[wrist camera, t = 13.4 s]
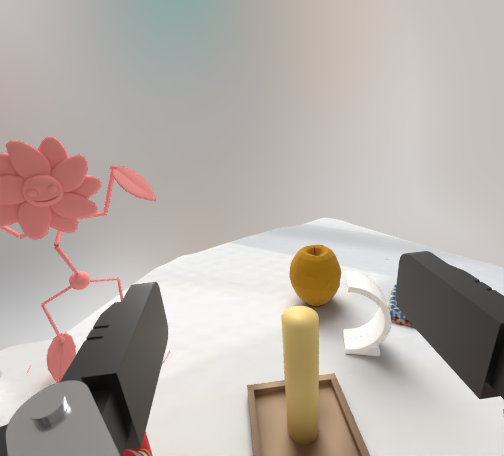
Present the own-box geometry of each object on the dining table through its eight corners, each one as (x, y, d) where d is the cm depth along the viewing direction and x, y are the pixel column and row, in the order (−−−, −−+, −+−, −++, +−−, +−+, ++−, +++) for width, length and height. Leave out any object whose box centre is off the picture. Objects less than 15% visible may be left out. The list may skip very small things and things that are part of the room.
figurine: (10, 375, 47) (-106, 148, 33) (170, 312, 58) (131, 127, 45) (-7, 467, 34) (-204, 165, 21) (199, 364, 46) (158, 130, 33)
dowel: (290, 446, 33) (285, 331, 27) (284, 416, 36) (278, 308, 30) (322, 442, 33) (323, 327, 27) (313, 412, 36) (312, 303, 31)
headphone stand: (342, 332, 50) (345, 270, 45) (381, 335, 48) (387, 271, 44) (345, 353, 45) (348, 286, 41) (387, 357, 44) (395, 288, 40)
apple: (311, 281, 65) (310, 232, 61) (350, 298, 58) (353, 244, 54) (280, 300, 59) (278, 248, 55) (320, 322, 52) (321, 264, 48)
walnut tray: (257, 501, 29) (256, 491, 28) (248, 394, 40) (247, 385, 40) (376, 482, 30) (377, 472, 29) (334, 381, 41) (334, 373, 40)
